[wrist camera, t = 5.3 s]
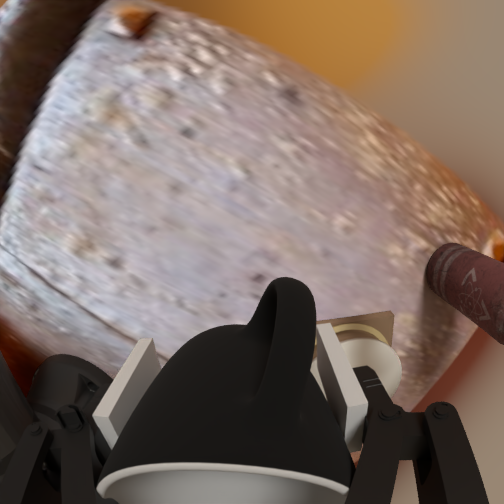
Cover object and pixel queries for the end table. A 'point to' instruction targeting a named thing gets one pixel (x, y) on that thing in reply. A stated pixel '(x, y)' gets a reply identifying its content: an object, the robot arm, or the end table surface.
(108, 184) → the end table surface
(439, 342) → the end table surface
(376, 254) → the end table surface
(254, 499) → the mug
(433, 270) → the can
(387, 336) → the stand
